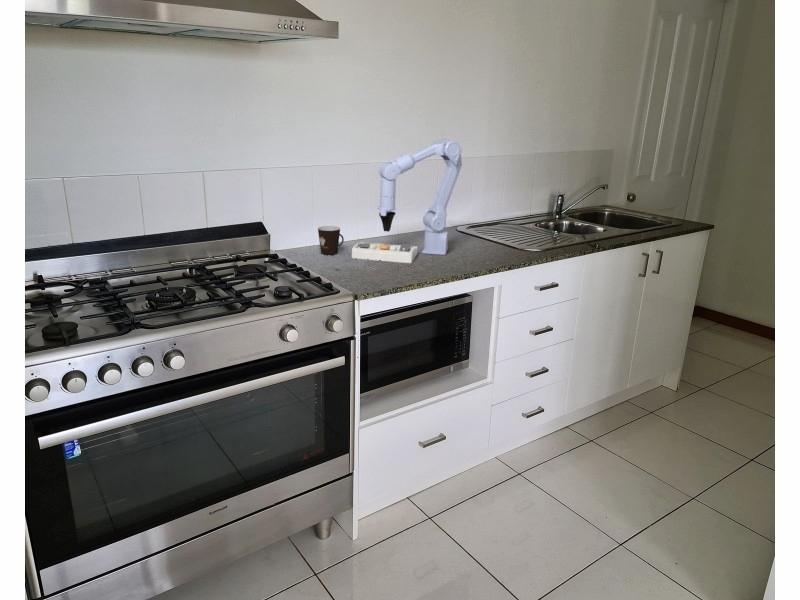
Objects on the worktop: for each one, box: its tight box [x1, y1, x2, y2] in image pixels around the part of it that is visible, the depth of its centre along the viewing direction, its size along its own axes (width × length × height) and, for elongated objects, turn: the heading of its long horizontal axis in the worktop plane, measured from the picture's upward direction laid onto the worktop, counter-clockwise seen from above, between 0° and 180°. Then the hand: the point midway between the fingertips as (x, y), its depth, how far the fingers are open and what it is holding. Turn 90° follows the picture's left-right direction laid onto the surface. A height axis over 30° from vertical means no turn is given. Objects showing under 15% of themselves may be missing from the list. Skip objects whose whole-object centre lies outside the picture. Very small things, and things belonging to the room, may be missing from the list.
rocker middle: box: [378, 245, 390, 250], centre depth 220 cm, size 3×6×2 cm, turn 169°
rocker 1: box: [358, 242, 370, 248], centre depth 221 cm, size 3×6×2 cm, turn 169°
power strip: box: [351, 241, 419, 264], centre depth 223 cm, size 23×14×4 cm, turn 79°
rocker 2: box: [399, 243, 411, 252], centre depth 219 cm, size 3×6×2 cm, turn 169°
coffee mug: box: [317, 225, 345, 256], centre depth 222 cm, size 12×9×10 cm
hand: (386, 231), depth 222 cm, fingers closed
